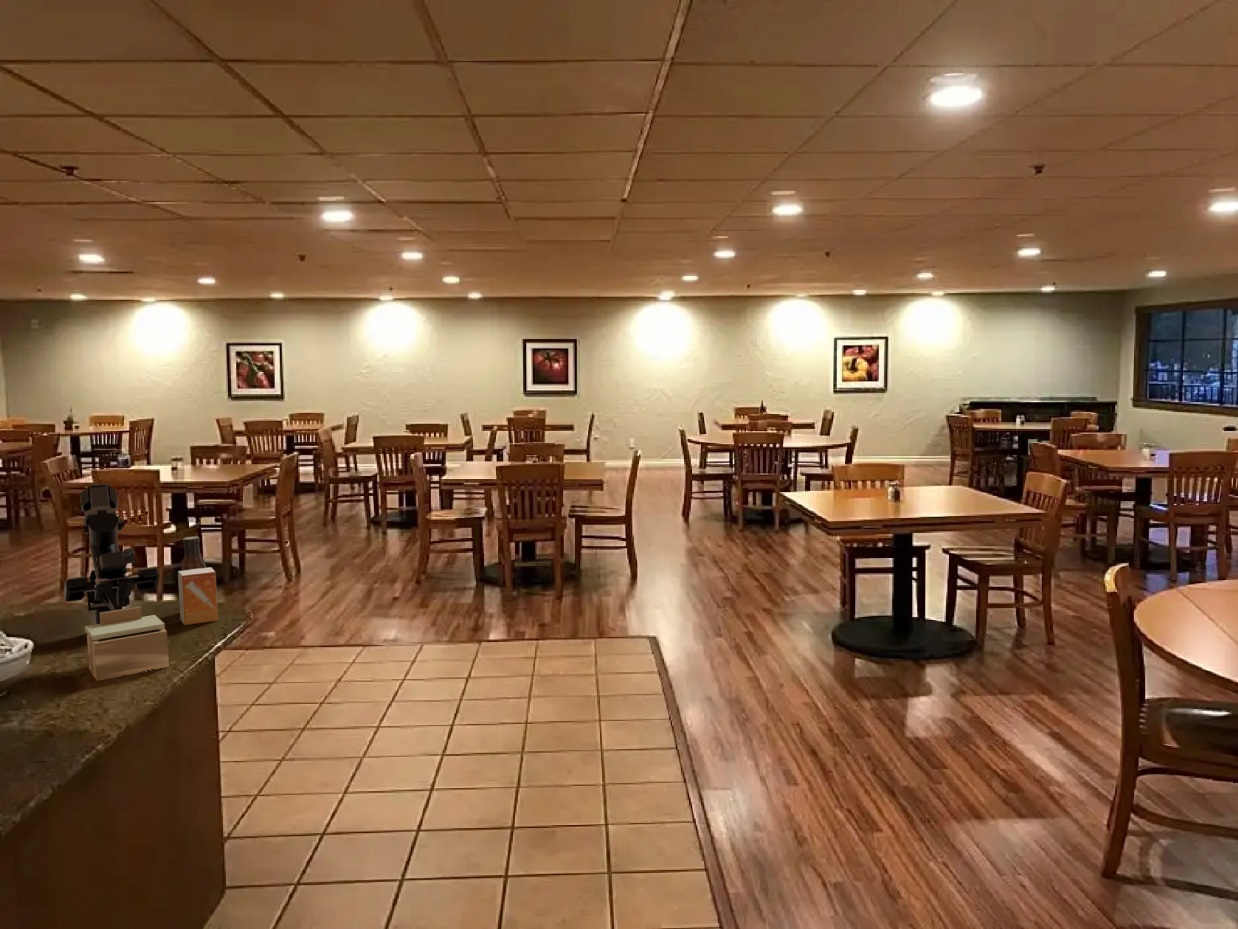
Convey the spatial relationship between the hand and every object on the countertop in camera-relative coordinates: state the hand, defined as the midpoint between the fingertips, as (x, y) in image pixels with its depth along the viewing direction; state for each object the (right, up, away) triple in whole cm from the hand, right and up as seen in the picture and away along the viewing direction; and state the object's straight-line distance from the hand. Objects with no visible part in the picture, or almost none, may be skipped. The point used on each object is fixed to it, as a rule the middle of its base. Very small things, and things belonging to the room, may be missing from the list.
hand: (119, 615), depth 208 cm
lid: (+3, -3, -3) cm, 5 cm away
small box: (+3, -7, +33) cm, 34 cm away
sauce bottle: (-2, -6, +42) cm, 42 cm away
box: (+4, -11, -4) cm, 12 cm away
